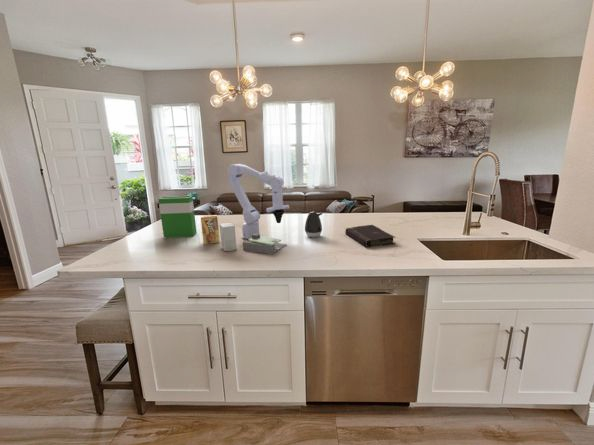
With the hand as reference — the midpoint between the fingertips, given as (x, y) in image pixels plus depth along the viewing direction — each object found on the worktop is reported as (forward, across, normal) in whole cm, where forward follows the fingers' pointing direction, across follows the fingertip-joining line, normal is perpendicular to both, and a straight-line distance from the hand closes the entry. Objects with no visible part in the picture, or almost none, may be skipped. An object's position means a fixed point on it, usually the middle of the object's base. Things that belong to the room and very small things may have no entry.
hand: (278, 222), depth 166 cm
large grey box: (+10, -14, -6) cm, 18 cm away
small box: (+10, -29, +5) cm, 31 cm away
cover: (+6, -15, -8) cm, 18 cm away
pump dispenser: (+10, +18, -9) cm, 23 cm away
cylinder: (+8, -18, -6) cm, 20 cm away
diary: (+11, +38, -34) cm, 53 cm away
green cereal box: (+10, -41, +48) cm, 64 cm away
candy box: (+10, -32, +22) cm, 40 cm away
